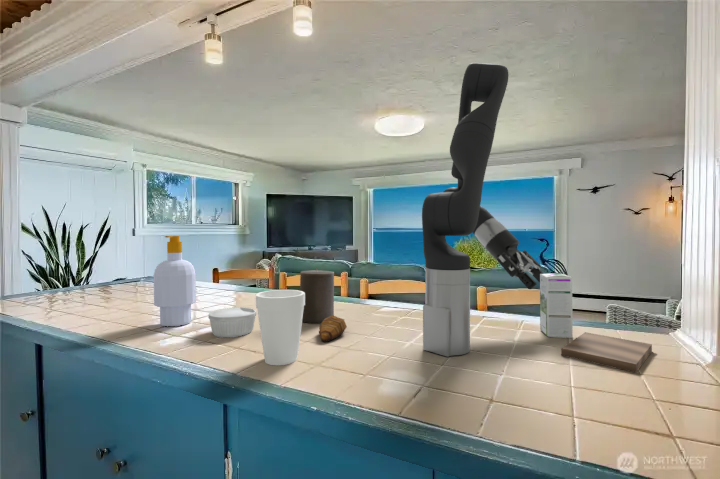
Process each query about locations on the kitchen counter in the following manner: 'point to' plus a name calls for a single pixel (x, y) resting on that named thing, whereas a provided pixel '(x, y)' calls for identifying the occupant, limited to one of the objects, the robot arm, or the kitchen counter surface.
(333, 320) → the croissant
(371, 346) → the kitchen counter surface
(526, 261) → the robot arm
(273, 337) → the foam cup
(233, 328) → the ramekin
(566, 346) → the walnut board
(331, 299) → the pillar candle
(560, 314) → the syrup box
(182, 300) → the soap bottle
